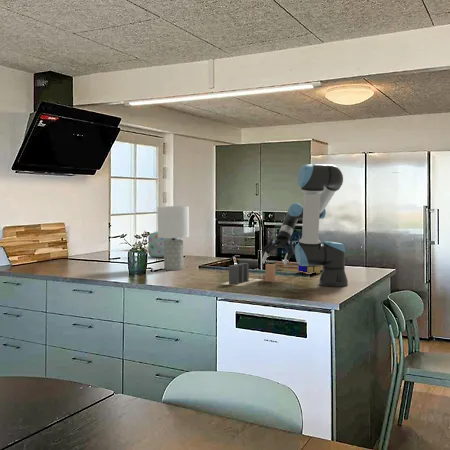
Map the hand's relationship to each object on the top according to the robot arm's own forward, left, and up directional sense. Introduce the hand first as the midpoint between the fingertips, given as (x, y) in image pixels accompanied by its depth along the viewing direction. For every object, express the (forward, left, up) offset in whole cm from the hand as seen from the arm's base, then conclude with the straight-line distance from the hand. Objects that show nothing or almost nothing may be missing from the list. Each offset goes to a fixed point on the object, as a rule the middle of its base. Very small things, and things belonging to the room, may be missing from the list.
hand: (273, 262), depth 299 cm
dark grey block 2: (+12, +13, -10) cm, 20 cm away
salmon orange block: (-1, +6, -10) cm, 12 cm away
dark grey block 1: (+12, +24, -10) cm, 28 cm away
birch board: (+12, +15, -10) cm, 22 cm away
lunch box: (+127, -63, -10) cm, 142 cm away
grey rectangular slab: (+12, +18, -10) cm, 24 cm away
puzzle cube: (-6, -38, -10) cm, 40 cm away
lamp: (+79, -11, -10) cm, 80 cm away
